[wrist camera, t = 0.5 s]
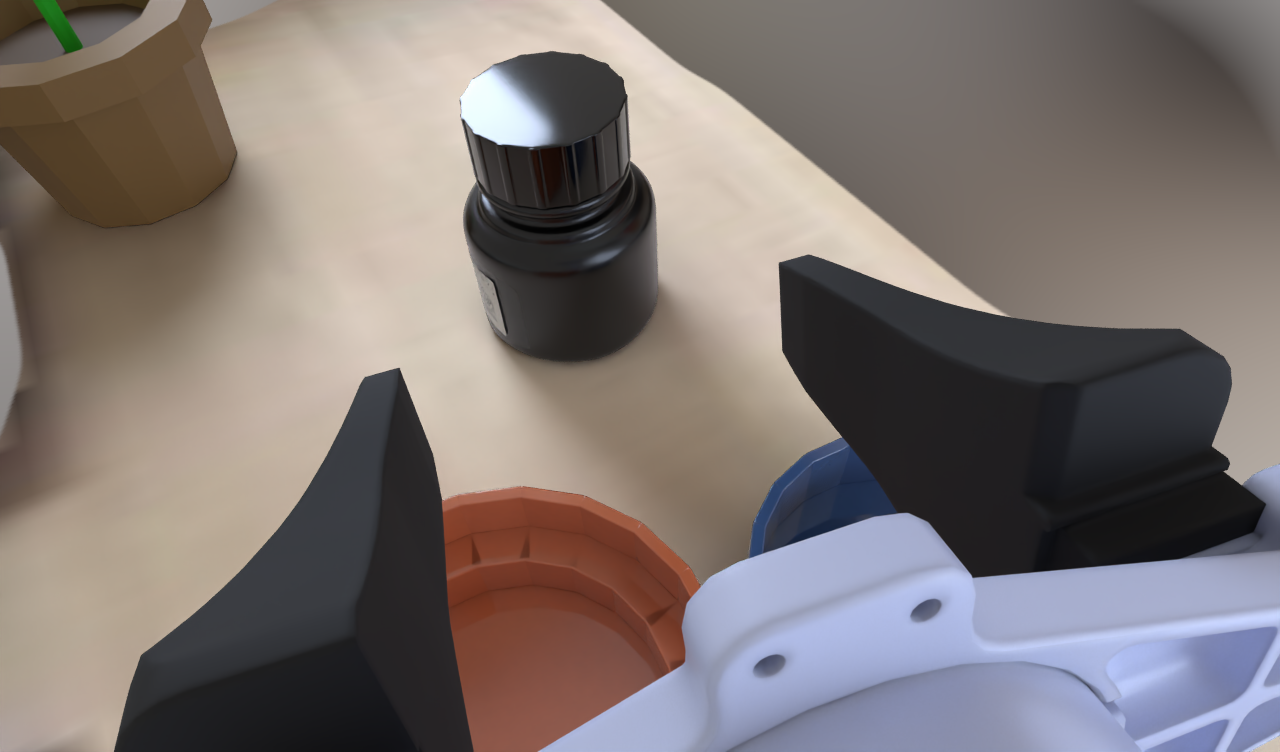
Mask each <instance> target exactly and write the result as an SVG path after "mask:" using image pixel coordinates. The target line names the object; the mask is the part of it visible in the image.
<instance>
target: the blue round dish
mask: <svg viewBox="0 0 1280 752" xmlns="http://www.w3.org/2000/svg"><path fill="white" fill-rule="evenodd" d="M889 513H890V514H891V515H892V514H894V513H897V511H896V510H895V508H894V507H893V505H892V503H891V502H890V500H889V499H888V497H887V495H886V494H885V492H884V491H883V489H882V488H881V486H880V484H879V483H878V482H877V480H876V479H875V478H874V476H873V475H872V473H871V472H870V471H869V469H868V468H867V467H866V465H865V464H864V463H863V462H862V461H861V459H860V458H859V457H858V456H857V454H856V453H855V452H854V451H853V449H852V448H851V447H850V446H849V445H848V443H847V442H846V441H845V440H844V438H843V437H842V438H840V439H837V440H835V441H833V442H831V443H828V444H826V445H824V446H822V447H819V448H817V449H815V450H813V451H810V452H808V453H806V454H805V455H803V456H802V457H801V458H800V459H799V460H798V461H797V462H796V463H795V464H794V465H792V466H791V467H790V468H789V469H788V470H787V471H786V472H785V473H784V474H783V475H782V476H781V477H779V478H778V479H777V480H776V481H775V482H774V484H773V485H772V486H771V488H770V490H769V492H768V494H767V496H766V498H765V500H764V502H763V504H762V506H761V508H760V510H759V512H758V514H757V516H756V518H755V520H754V522H753V525H752V531H751V538H750V545H749V551H748V558H747V559H749V558H752V557H755V556H758V555H761V554H764V553H767V552H770V551H773V550H776V549H779V548H782V547H785V546H788V545H791V544H794V543H797V542H800V541H803V540H806V539H809V538H812V537H815V536H818V535H821V534H824V533H827V532H830V531H833V530H836V529H839V528H842V527H845V526H848V525H851V524H854V523H857V522H860V521H863V520H866V519H869V518H872V517H876V516H884V515H887V514H889Z"/></svg>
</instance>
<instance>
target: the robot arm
mask: <svg viewBox="0 0 1280 752" xmlns="http://www.w3.org/2000/svg"><path fill="white" fill-rule="evenodd" d="M779 279H780V303H781V328H782V351H783V353H784V355H785V357H786V358H787V360H788V362H789V364H790V366H791V367H792V369H793V371H794V373H795V374H796V376H797V378H798V379H799V381H800V383H801V384H802V386H803V388H804V389H805V391H806V392H807V393H808V395H809V396H810V397H811V399H812V400H813V401H814V402H815V404H816V405H817V406H818V407H819V409H820V410H821V411H822V412H823V414H824V415H825V416H826V418H827V419H828V420H829V421H830V422H831V424H832V425H833V426H834V427H835V429H836V430H837V431H838V432H839V433H840V435H841V436H842V437H843V438H844V440H845V441H846V442H847V443H848V445H849V446H850V447H851V448H852V449H853V451H854V452H855V453H856V454H857V456H858V457H859V458H860V459H861V461H862V462H863V463H864V464H865V465H866V467H867V468H868V469H869V471H870V472H871V473H872V475H873V476H874V478H875V479H876V480H877V482H878V483H879V484H880V486H881V488H882V489H883V491H884V492H885V494H886V495H887V497H888V499H889V500H890V502H891V503H892V505H893V507H894V508H895V510H896V511H897V513H898V514H892V515H884V516H876V517H872V518H869V519H866V520H863V521H860V522H857V523H854V524H851V525H848V526H845V527H842V528H839V529H836V530H833V531H830V532H827V533H824V534H821V535H818V536H815V537H812V538H809V539H806V540H803V541H800V542H797V543H794V544H791V545H788V546H785V547H782V548H779V549H776V550H773V551H770V552H767V553H764V554H761V555H758V556H755V557H752V558H749V559H746V560H743V561H740V562H737V563H735V564H733V565H731V566H730V567H728V568H726V569H724V570H722V571H720V572H718V573H716V574H715V575H713V576H711V577H709V578H708V579H707V580H706V582H705V583H704V584H703V585H702V586H701V587H700V588H699V589H698V591H697V592H696V593H695V594H694V595H693V596H692V597H691V599H690V600H689V601H688V603H687V604H686V609H685V614H684V619H683V623H682V633H683V639H684V644H685V650H686V653H685V663H684V664H683V665H682V666H680V667H678V668H677V669H675V670H673V671H672V672H670V673H668V674H667V675H665V676H663V677H662V678H660V679H658V680H657V681H655V682H653V683H652V684H650V685H648V686H647V687H645V688H643V689H642V690H640V691H638V692H637V693H635V694H633V695H631V696H630V697H628V698H626V699H625V700H623V701H621V702H620V703H618V704H616V705H615V706H613V707H611V708H610V709H608V710H606V711H605V712H603V713H601V714H600V715H598V716H596V717H595V718H593V719H591V720H590V721H588V722H586V723H585V724H583V725H581V726H580V727H578V728H576V729H575V730H573V731H571V732H570V733H568V734H566V735H565V736H563V737H561V738H560V739H558V740H556V741H555V742H553V743H551V744H550V745H548V746H546V747H545V748H543V749H541V750H540V751H538V752H1251V751H1252V750H1254V749H1256V748H1258V747H1259V746H1261V745H1263V744H1265V743H1267V742H1269V741H1270V740H1272V739H1274V738H1276V737H1278V736H1280V464H1278V465H1275V466H1272V467H1269V468H1266V469H1264V470H1261V471H1260V472H1257V473H1256V474H1254V475H1252V476H1251V477H1250V478H1249V479H1248V480H1247V481H1245V482H1244V484H1243V485H1240V484H1239V483H1238V482H1237V481H1235V480H1234V479H1233V478H1231V477H1230V476H1229V475H1227V474H1226V473H1225V472H1223V471H1225V470H1228V467H1229V465H1230V462H1229V460H1228V458H1227V457H1226V456H1224V455H1223V454H1221V453H1220V452H1219V451H1217V450H1216V449H1214V448H1213V447H1212V443H1213V440H1214V438H1215V435H1216V432H1217V430H1218V427H1219V424H1220V422H1221V419H1222V416H1223V414H1224V411H1225V408H1226V406H1227V403H1228V399H1229V395H1230V391H1231V386H1232V379H1231V368H1230V366H1229V364H1228V363H1227V361H1226V359H1225V358H1224V356H1222V355H1220V354H1219V353H1217V352H1216V351H1214V350H1212V349H1211V348H1209V347H1208V346H1206V345H1205V344H1203V343H1202V342H1200V341H1198V340H1197V339H1195V338H1194V337H1192V336H1191V335H1189V334H1187V333H1186V332H1184V331H1183V330H1181V329H1117V328H1098V327H1084V326H1071V325H1061V324H1052V323H1044V322H1037V321H1031V320H1024V319H1017V318H1011V317H1005V316H1000V315H995V314H990V313H986V312H982V311H977V310H973V309H968V308H964V307H960V306H956V305H952V304H949V303H945V302H942V301H939V300H936V299H932V298H929V297H926V296H923V295H919V294H916V293H913V292H910V291H907V290H905V289H902V288H899V287H896V286H893V285H890V284H888V283H885V282H882V281H880V280H877V279H874V278H872V277H869V276H867V275H864V274H861V273H859V272H856V271H854V270H851V269H849V268H846V267H843V266H841V265H838V264H835V263H833V262H830V261H827V260H825V259H822V258H819V257H815V256H812V255H805V256H802V257H798V258H795V259H791V260H787V261H784V262H780V263H779ZM114 752H474V749H473V744H472V739H471V734H470V729H469V724H468V719H467V713H466V708H465V703H464V697H463V692H462V687H461V681H460V676H459V670H458V665H457V659H456V653H455V647H454V642H453V636H452V630H451V624H450V615H449V606H448V592H447V574H446V557H445V539H444V523H443V508H442V498H441V493H440V487H439V482H438V477H437V472H436V467H435V462H434V457H433V453H432V451H431V448H430V445H429V443H428V440H427V438H426V435H425V433H424V430H423V427H422V425H421V422H420V420H419V417H418V415H417V412H416V410H415V407H414V404H413V402H412V399H411V397H410V394H409V392H408V389H407V386H406V384H405V381H404V379H403V376H402V374H401V371H400V368H397V369H393V370H389V371H386V372H382V373H379V374H375V375H371V376H368V377H365V378H364V379H363V381H362V383H361V384H360V386H359V389H358V391H357V393H356V396H355V398H354V400H353V403H352V405H351V407H350V409H349V412H348V414H347V416H346V418H345V420H344V422H343V425H342V427H341V429H340V431H339V433H338V435H337V437H336V439H335V441H334V442H333V444H332V446H331V448H330V450H329V452H328V454H327V456H326V458H325V460H324V461H323V463H322V465H321V466H320V468H319V470H318V472H317V473H316V475H315V477H314V478H313V480H312V482H311V483H310V485H309V487H308V488H307V490H306V491H305V493H304V495H303V496H302V498H301V499H300V501H299V502H298V504H297V505H296V506H295V508H294V509H293V510H292V512H291V513H290V514H289V516H288V517H287V518H286V519H285V521H284V522H283V523H282V525H281V526H280V527H279V528H278V530H277V531H276V532H275V533H274V534H273V535H272V537H271V538H270V539H269V540H268V541H267V542H266V543H265V544H264V546H263V547H262V548H261V549H260V550H259V551H258V552H257V553H256V554H255V556H254V557H253V558H252V559H251V560H250V561H249V562H248V563H247V565H246V566H245V567H244V568H243V569H242V570H241V571H240V572H239V573H238V574H237V575H236V576H235V577H234V578H233V579H232V580H231V581H230V582H229V583H228V584H227V585H226V586H224V587H223V588H222V589H221V590H220V591H219V592H218V593H217V594H216V595H215V596H214V597H212V598H211V599H210V600H209V601H208V602H207V603H206V604H205V605H204V606H203V607H201V608H200V609H199V610H198V611H197V612H196V613H194V614H193V615H192V616H191V617H190V618H188V619H187V620H186V621H185V622H183V623H182V624H181V625H180V626H178V627H177V628H176V629H174V630H173V631H172V632H171V633H169V634H168V635H167V636H166V637H164V638H163V639H162V640H161V641H159V642H158V643H157V644H155V645H154V646H153V647H152V648H150V649H149V650H148V651H146V652H145V653H143V654H142V655H141V657H140V660H139V663H138V666H137V669H136V671H135V674H134V677H133V680H132V682H131V685H130V689H129V693H128V696H127V700H126V704H125V708H124V712H123V716H122V721H121V725H120V729H119V733H118V737H117V741H116V745H115V750H114Z"/></svg>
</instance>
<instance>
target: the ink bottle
mask: <svg viewBox="0 0 1280 752" xmlns="http://www.w3.org/2000/svg"><path fill="white" fill-rule="evenodd" d="M460 104H461V115H460V117H461V121H462V125H463V130H464V134H465V138H466V142H467V146H468V150H469V154H470V159H471V163H472V167H473V171H474V175H475V177H476V183H475V185H474V186H473V188H472V190H471V191H470V193H469V196H468V198H467V201H466V204H465V208H464V214H463V226H464V232H465V237H466V241H467V245H468V248H469V253H470V256H471V260H472V264H473V267H474V271H475V275H476V278H477V282H478V286H479V289H480V293H481V297H482V300H483V304H484V308H485V311H486V314H487V317H488V320H489V322H490V324H491V326H492V328H493V329H494V331H495V332H496V334H497V335H498V336H499V337H500V338H501V339H502V340H503V341H504V342H506V343H507V344H508V345H510V346H511V347H513V348H515V349H516V350H518V351H520V352H522V353H525V354H527V355H530V356H533V357H536V358H540V359H545V360H550V361H559V362H579V361H587V360H593V359H597V358H600V357H604V356H606V355H609V354H611V353H613V352H615V351H617V350H619V349H621V348H622V347H624V346H625V345H627V344H628V343H629V342H630V341H632V340H633V339H634V338H635V337H636V336H637V335H638V334H639V333H640V332H641V331H642V330H643V328H644V327H645V326H646V324H647V323H648V321H649V320H650V318H651V316H652V314H653V311H654V309H655V306H656V302H657V297H658V265H657V228H656V204H655V197H654V193H653V190H652V187H651V185H650V183H649V181H648V179H647V178H646V176H645V175H644V173H643V172H642V171H641V170H640V169H639V168H638V167H637V166H636V165H635V164H634V163H632V162H631V161H630V157H631V151H630V133H629V114H628V96H627V94H626V92H625V87H624V80H623V78H622V77H621V76H619V75H618V74H617V73H615V72H614V71H613V70H612V69H611V68H610V67H609V65H608V64H606V63H604V62H600V61H597V60H594V59H592V58H589V57H586V56H585V55H583V54H571V53H561V52H555V51H549V52H545V53H536V54H528V55H526V54H524V55H519V56H517V57H515V58H512V59H509V60H507V61H504V62H501V63H498V64H494V65H492V66H491V67H490V68H489V69H487V70H486V71H484V72H483V73H482V74H480V75H479V76H477V77H476V78H473V79H472V80H471V81H470V84H469V86H468V87H467V89H466V91H465V92H464V94H463V95H462V96H461V97H460Z"/></svg>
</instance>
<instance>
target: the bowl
mask: <svg viewBox="0 0 1280 752" xmlns="http://www.w3.org/2000/svg"><path fill="white" fill-rule="evenodd" d="M442 508H443V523H444V539H445V557H446V574H447V592H448V606H449V615H450V624H451V630H452V636H453V642H454V647H455V653H456V659H457V665H458V670H459V676H460V681H461V687H462V692H463V697H464V703H465V708H466V713H467V719H468V724H469V729H470V734H471V739H472V744H473V749H474V752H538V751H540V750H541V749H543V748H545V747H546V746H548V745H550V744H551V743H553V742H555V741H556V740H558V739H560V738H561V737H563V736H565V735H566V734H568V733H570V732H571V731H573V730H575V729H576V728H578V727H580V726H581V725H583V724H585V723H586V722H588V721H590V720H591V719H593V718H595V717H596V716H598V715H600V714H601V713H603V712H605V711H606V710H608V709H610V708H611V707H613V706H615V705H616V704H618V703H620V702H621V701H623V700H625V699H626V698H628V697H630V696H631V695H633V694H635V693H637V692H638V691H640V690H642V689H643V688H645V687H647V686H648V685H650V684H652V683H653V682H655V681H657V680H658V679H660V678H662V677H663V676H665V675H667V674H668V673H670V672H672V671H673V670H675V669H677V668H678V667H680V666H682V665H683V664H684V663H685V653H686V650H685V644H684V639H683V633H682V623H683V619H684V614H685V609H686V604H687V603H688V601H689V600H690V599H691V597H692V596H693V595H694V594H695V593H696V592H697V591H698V589H699V588H700V587H701V586H700V584H699V582H698V581H697V579H696V577H695V575H694V573H693V571H692V570H691V568H690V567H689V566H688V565H687V564H686V563H685V562H684V561H683V560H682V559H681V558H680V557H679V556H677V555H676V554H675V553H674V552H673V551H672V550H671V549H670V548H669V547H668V546H667V545H666V544H665V543H664V542H662V541H661V540H660V539H659V538H658V537H657V536H656V535H655V534H654V533H653V532H652V531H651V530H650V529H649V528H647V527H646V526H645V525H644V524H643V523H641V522H640V521H638V520H636V519H633V518H631V517H629V516H627V515H625V514H623V513H621V512H619V511H617V510H614V509H612V508H610V507H608V506H606V505H604V504H602V503H600V502H598V501H595V500H593V499H591V498H589V497H587V496H584V495H578V494H572V493H565V492H558V491H552V490H545V489H538V488H531V487H525V486H523V487H521V486H519V487H511V488H503V489H496V490H488V491H480V492H473V493H465V494H458V496H457V495H455V496H452V497H450V498H448V499H445V500H443V501H442Z"/></svg>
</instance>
